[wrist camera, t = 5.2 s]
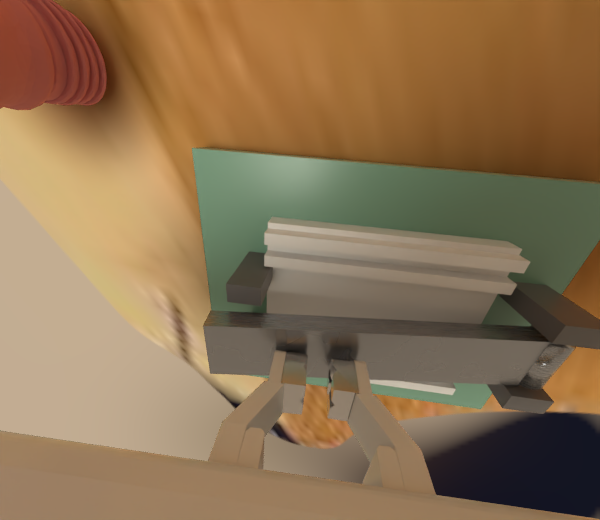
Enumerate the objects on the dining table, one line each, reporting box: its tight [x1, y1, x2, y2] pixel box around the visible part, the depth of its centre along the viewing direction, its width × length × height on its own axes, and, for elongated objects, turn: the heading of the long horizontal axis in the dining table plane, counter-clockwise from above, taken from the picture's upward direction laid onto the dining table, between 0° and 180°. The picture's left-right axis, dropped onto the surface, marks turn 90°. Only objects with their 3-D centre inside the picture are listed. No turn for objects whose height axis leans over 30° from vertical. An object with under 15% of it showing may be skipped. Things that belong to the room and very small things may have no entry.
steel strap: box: [203, 310, 576, 390], centre depth 11 cm, size 17×3×2 cm, turn 86°
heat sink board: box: [192, 147, 600, 414], centre depth 14 cm, size 20×16×5 cm
